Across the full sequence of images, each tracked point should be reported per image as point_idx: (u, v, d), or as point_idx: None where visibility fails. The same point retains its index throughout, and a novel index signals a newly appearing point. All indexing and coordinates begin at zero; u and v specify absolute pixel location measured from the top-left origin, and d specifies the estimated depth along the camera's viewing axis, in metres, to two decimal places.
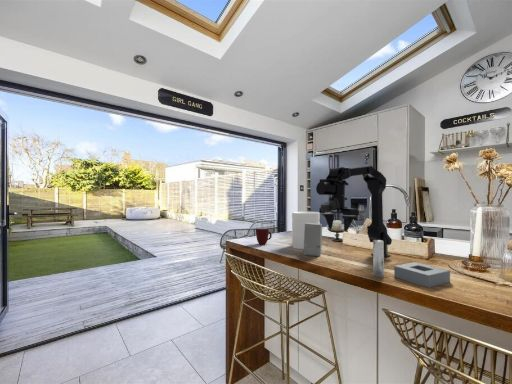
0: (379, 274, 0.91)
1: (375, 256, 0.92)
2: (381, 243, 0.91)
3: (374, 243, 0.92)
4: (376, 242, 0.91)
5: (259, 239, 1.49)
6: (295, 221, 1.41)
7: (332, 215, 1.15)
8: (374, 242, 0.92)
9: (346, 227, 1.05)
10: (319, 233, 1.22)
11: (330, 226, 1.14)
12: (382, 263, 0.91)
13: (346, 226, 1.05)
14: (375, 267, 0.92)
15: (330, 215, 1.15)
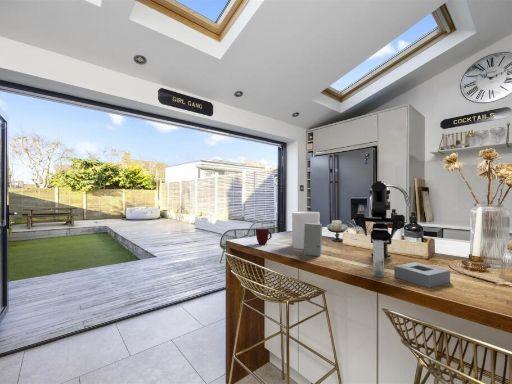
0: (379, 274, 0.91)
1: (375, 256, 0.92)
2: (381, 243, 0.91)
3: (374, 243, 0.92)
4: (376, 242, 0.91)
5: (259, 239, 1.49)
6: (295, 221, 1.41)
7: None
8: (374, 242, 0.92)
9: (393, 233, 0.98)
10: (319, 233, 1.22)
11: (366, 233, 1.02)
12: (382, 263, 0.91)
13: (393, 232, 0.98)
14: (375, 267, 0.92)
15: None
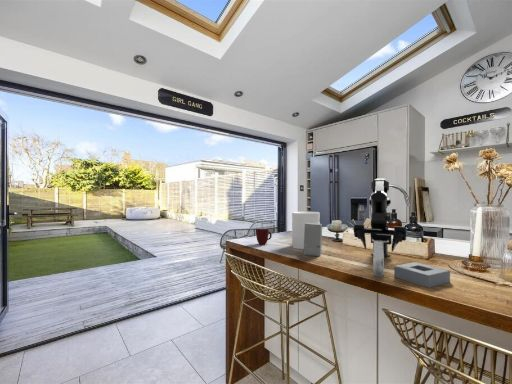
0: (379, 274, 0.91)
1: (375, 256, 0.92)
2: (381, 243, 0.91)
3: (374, 243, 0.92)
4: (376, 242, 0.91)
5: (259, 239, 1.49)
6: (295, 221, 1.41)
7: None
8: (374, 242, 0.92)
9: (394, 246, 0.93)
10: (319, 233, 1.22)
11: (365, 245, 0.97)
12: (382, 263, 0.91)
13: (394, 245, 0.93)
14: (375, 267, 0.92)
15: None
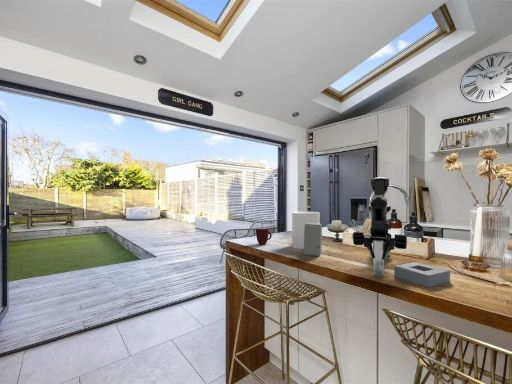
0: (379, 274, 0.91)
1: (375, 256, 0.92)
2: (381, 243, 0.91)
3: (374, 243, 0.92)
4: (376, 242, 0.91)
5: (259, 239, 1.49)
6: (295, 221, 1.41)
7: None
8: (374, 242, 0.92)
9: (386, 254, 0.91)
10: (319, 233, 1.22)
11: None
12: (382, 263, 0.91)
13: (386, 253, 0.91)
14: (375, 267, 0.92)
15: None
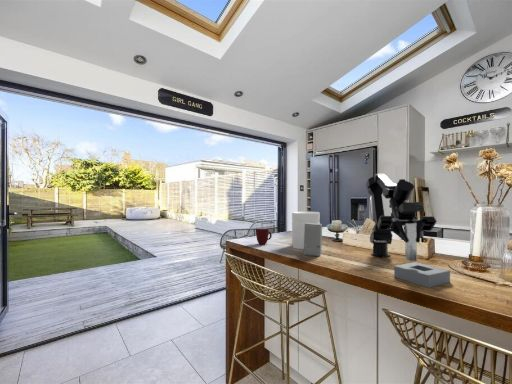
0: (413, 257, 0.87)
1: (409, 239, 0.88)
2: (415, 225, 0.87)
3: (408, 226, 0.88)
4: (411, 225, 0.87)
5: (259, 239, 1.49)
6: (295, 221, 1.41)
7: None
8: (408, 225, 0.88)
9: None
10: (319, 233, 1.22)
11: None
12: None
13: None
14: (409, 251, 0.87)
15: None
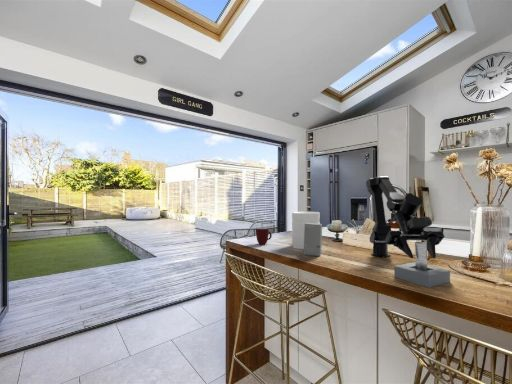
0: None
1: (420, 259, 0.87)
2: (426, 245, 0.87)
3: (419, 246, 0.87)
4: (421, 244, 0.87)
5: (259, 239, 1.49)
6: (295, 221, 1.41)
7: None
8: (419, 245, 0.87)
9: None
10: (319, 233, 1.22)
11: None
12: (426, 266, 0.87)
13: None
14: None
15: None
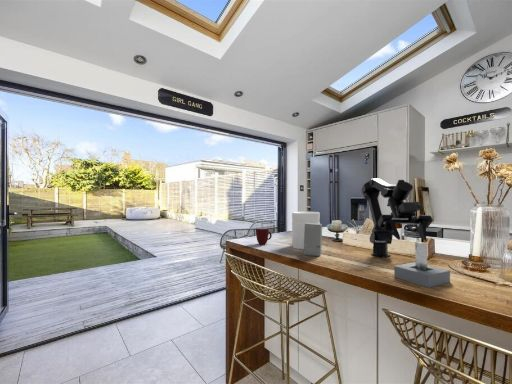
0: None
1: (420, 259, 0.87)
2: (426, 245, 0.87)
3: (419, 246, 0.87)
4: (421, 244, 0.87)
5: (259, 239, 1.49)
6: (295, 221, 1.41)
7: None
8: (419, 245, 0.87)
9: None
10: (319, 233, 1.22)
11: None
12: (426, 266, 0.87)
13: None
14: None
15: None
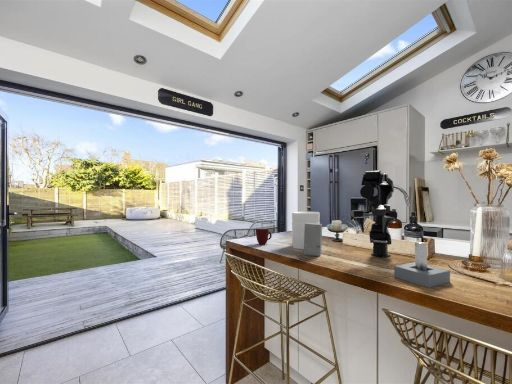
0: None
1: (420, 259, 0.87)
2: (426, 245, 0.87)
3: (418, 246, 0.87)
4: (421, 244, 0.87)
5: (259, 239, 1.49)
6: (295, 221, 1.41)
7: None
8: (418, 244, 0.87)
9: None
10: (319, 233, 1.22)
11: None
12: (426, 266, 0.87)
13: None
14: None
15: None
